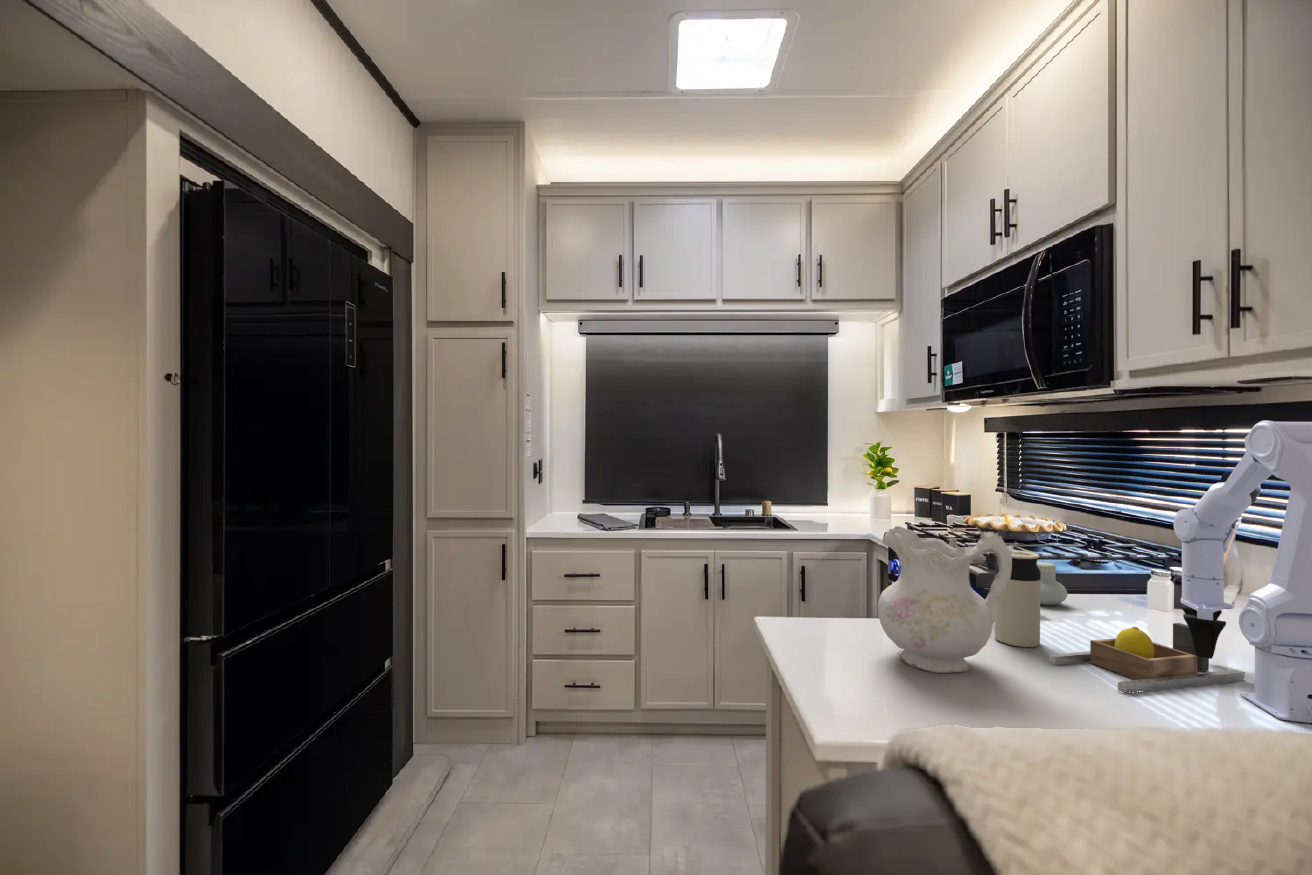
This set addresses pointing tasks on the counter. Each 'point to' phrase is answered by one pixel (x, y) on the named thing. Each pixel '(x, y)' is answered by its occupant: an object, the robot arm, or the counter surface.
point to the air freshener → (1050, 585)
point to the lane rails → (1156, 683)
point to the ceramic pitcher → (940, 600)
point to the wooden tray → (1161, 665)
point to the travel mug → (1020, 603)
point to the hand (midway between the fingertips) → (1202, 651)
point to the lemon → (1135, 642)
